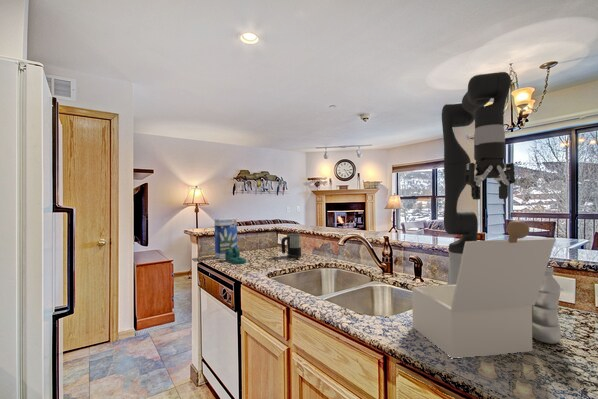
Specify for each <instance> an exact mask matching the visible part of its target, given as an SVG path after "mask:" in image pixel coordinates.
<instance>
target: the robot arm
mask: <svg viewBox="0 0 598 399" xmlns="http://www.w3.org/2000/svg"><path fill="white" fill-rule="evenodd" d="M511 85H512V78H511V75H510V74H509V73H508V72H506V71H496V72H486V73H479V74H478V73H477V74H476V75H473V76H472V77H471V78H470V79H469V81H468V85H467V91H466V93H465V94H464V95H463V96H462V100H461V102H453V103H452V102H451V103H445V104H444V105H443V107H442V109H441V126H442V135H443V136H442V137H443V174H444V175H443V176H444V207H443V208H444V209H443V226H444V230H445V232H446V233H447V234H448V235H461V237H460V238H459V239H457V240H456V241H453V242H450V243H449V245H448V269H447V285H455V284H456V282H457V278H458V273H459V268H460V263H461V259H462V254H463V249H464V245H465V241H478V231H479V229H478V228H479V222H478V217H477V214H476V212H474V211H472V210H458V201H459V198H460V196H461V194H462V192H463V190H465V188H466V186H467V185H468V186H470V187H471V192H470V195H471V198H472V200H475V201H476V200H481V184H482V182H483V181H484V180H485V179H493V180H494V181H496V182H497V184H498V198H499V200H506V199H508V197H509V186H510V185H511V184H515V182H516V178H515V177H516V175H515V164H514V162H508V163H504V159H505V158H506V131H505V126H504V123H505V122H504V120H505V119H504V115H505V114H504V113H505V112H504V111H505V106H506V101H507V98H508V95H509V92H510V88H511ZM492 99H493V101H492V103H490V104H488V103H489V102H490V100H492ZM473 123H474V135H473V159H474V160H475V163H474V162H471V158H470V156H469V154H468V153H467V151H466V150H465V149H464V147H463V146H462V145H461V144H460V142H459V141H458V140H457V138H456V136H455V133H454V128H462V127H463V128H465V127H469V126H470V125H471V124H473ZM475 171H476V172H475Z"/></svg>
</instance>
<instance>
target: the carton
mask: <svg viewBox="0 0 598 399" xmlns="http://www.w3.org/2000/svg"><path fill="white" fill-rule="evenodd" d="M455 287H456V284H455V285H448V284H443V285H442V284H441V285H429V286H428V285H427V286H412V288H411V292H412V294H411V297H412V298H411V299H412V302H411V304H412V328H413V329H414V330H416V331H417V332H418V333H419V334H420V335H422V336H423V337H424V338H425V337H426V340H427V341H429V342H430V343H431V342H432V343H431V344H433V346H435V345H436V346H437V347H438V348H437V347H436V346H435V347H436V348H437V349H439V348H440V349H441V350H442V351H444V352H445V353H446V354H447V355H449V356H450V357H451V358H457V357H471V358H476V357H475V356H481V357H490V355H491V356H499V355H500V354H501V355H509V354H508V353H511V354H519V352H521V353H530V352H533V337H532V305H531V306H518V307H505V308H492V309H479V310H466V311H453V312H452V311H451V306H452V301H453V296H454V292H455ZM440 349H439V350H440ZM441 350H440V351H441ZM442 351H441V352H442ZM529 351H530V352H529ZM517 352H518V353H517ZM445 353H444V354H445ZM446 354H445V355H446ZM447 355H446V356H447ZM451 358H450V359H451Z"/></svg>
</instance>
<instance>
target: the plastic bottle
mask: <svg viewBox="0 0 598 399" xmlns="http://www.w3.org/2000/svg"><path fill="white" fill-rule="evenodd" d="M554 275H555V272H554V266H550V265H547V268H546V271H545V274H544V278H543V281H542V284H541V287H540V290H539V294H538V297H537V300H536V303H535V305H532V339H535V340H536V341H538V342H541V343H545V344H550V345H552V344H553V345H554V344H555V345H556V344H558V343H559V342H560V340H561V337H562V333H561V327H560V323H559V315H558V314H559V311H558V310H559V309H558V308H559V301H560V295H561V290H562V289H561V286H560V283H558V281H557V280H556V279H555V277H553V276H554Z"/></svg>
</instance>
